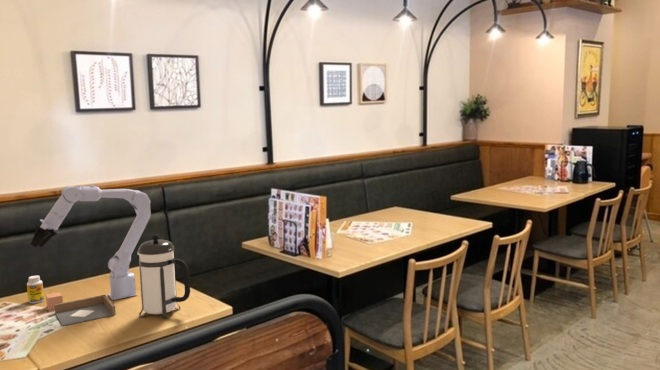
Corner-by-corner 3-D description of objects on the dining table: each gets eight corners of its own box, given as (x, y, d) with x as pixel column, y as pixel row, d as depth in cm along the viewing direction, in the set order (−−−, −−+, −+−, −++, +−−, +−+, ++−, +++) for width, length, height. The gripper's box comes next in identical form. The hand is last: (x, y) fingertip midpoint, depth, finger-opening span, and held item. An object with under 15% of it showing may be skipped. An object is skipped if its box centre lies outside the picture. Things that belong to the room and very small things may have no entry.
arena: (105, 302, 214) (104, 294, 214) (115, 314, 201) (115, 306, 201) (55, 313, 204) (54, 304, 204) (62, 326, 191) (61, 317, 191)
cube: (61, 304, 214) (59, 292, 213) (63, 308, 210) (62, 295, 209) (46, 307, 211) (45, 294, 210) (48, 310, 207) (47, 298, 206)
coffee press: (142, 324, 192) (137, 241, 188) (136, 310, 206) (131, 232, 202) (192, 315, 199) (187, 235, 195) (182, 302, 214) (178, 227, 209)
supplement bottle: (29, 305, 213) (26, 279, 212) (27, 301, 218) (25, 276, 217) (44, 302, 216) (42, 277, 215) (43, 298, 221) (41, 273, 220)
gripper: (52, 210, 212) (32, 240, 210) (42, 207, 198) (20, 240, 196) (69, 219, 214) (49, 249, 211) (60, 217, 200) (38, 249, 197)
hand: (36, 245), depth 203 cm, fingers open, 7 cm apart
